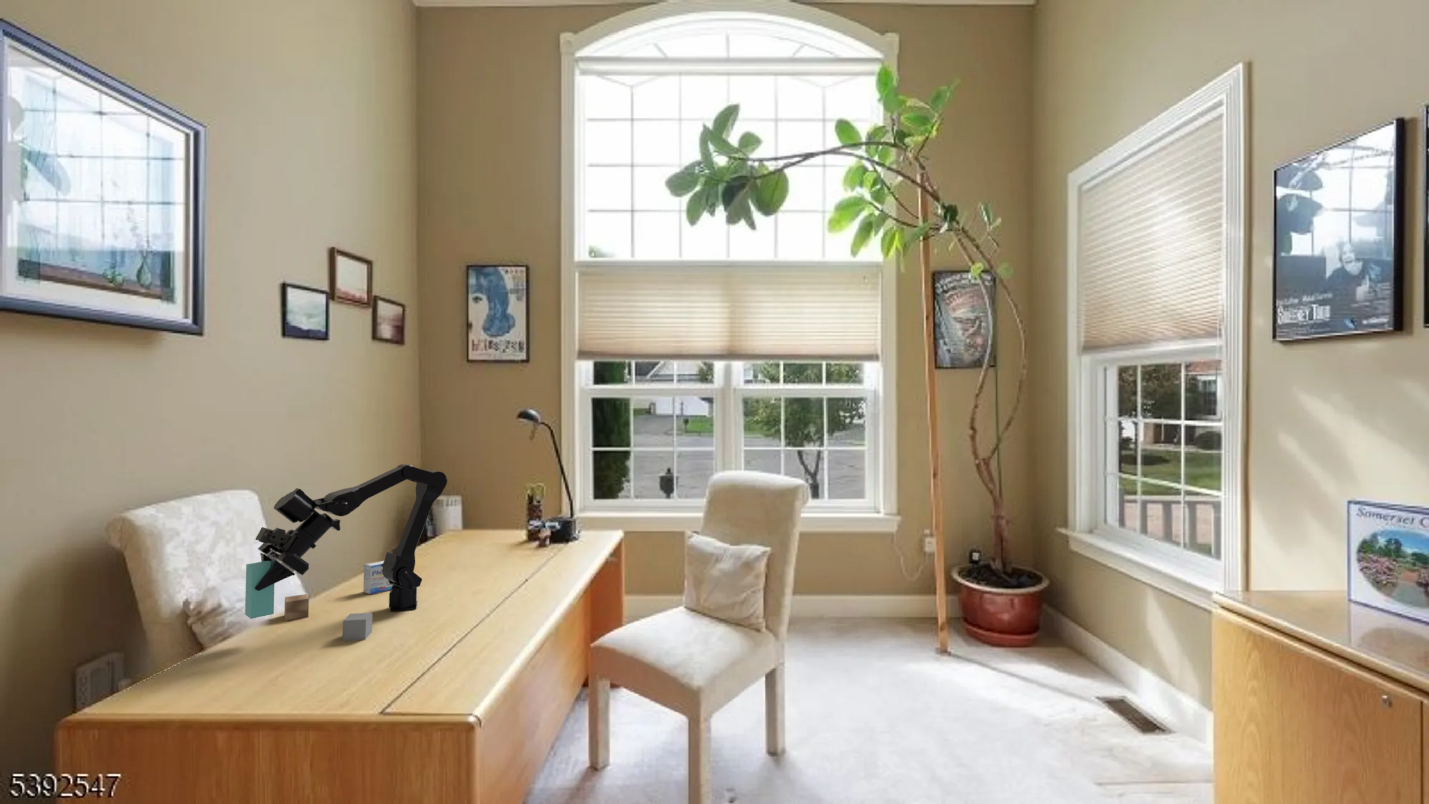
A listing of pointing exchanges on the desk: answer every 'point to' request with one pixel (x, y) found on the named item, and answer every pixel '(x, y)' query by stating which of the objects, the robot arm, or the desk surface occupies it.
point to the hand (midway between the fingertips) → (253, 587)
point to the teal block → (258, 600)
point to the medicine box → (375, 579)
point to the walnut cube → (296, 607)
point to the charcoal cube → (357, 626)
